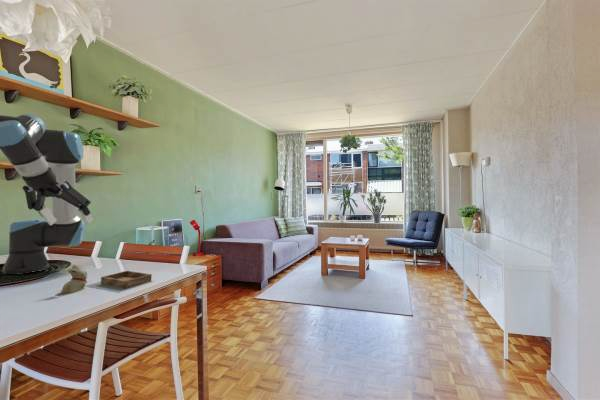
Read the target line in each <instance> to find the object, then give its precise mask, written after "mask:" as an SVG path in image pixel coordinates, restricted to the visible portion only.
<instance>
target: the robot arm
mask: <svg viewBox="0 0 600 400" xmlns="http://www.w3.org/2000/svg"><path fill="white" fill-rule="evenodd" d="M0 151H1V152H2V154H3V155H4V156H5V157H6V158H7V160H8V161H9V163H10V164H11V165H12V166H13V168H14V169H15V170H16V171H17V173H18V174H19V176H21V179H22V180H23V182H24V183H25V185H23V186H22V187H21V188H22V190H23V191H24V193H25V199H26V204H27V205H26V206H27V208H28V209H29V210H34V211H36V212H37V213H38V214H39V215H40V216H41V217H42V218H35V219H24V220H17V221H13V222H12V223H11V224H10V226H9V231H8V234H9V236H8V237H9V239H8V240H9V241H8V244H9V245H8V256H7V258H6V260H5V262H4V265H3V266H2V274H3V275H6V274H17V273H27V272H32V271H37V270H41V269H44V268H47V267H49V265H50V264H49V261H48V259H47V257H46V254H45V248H52V247H57V248H58V247H72V246H73V247H77V246H79V245H81V244H82V242H83V239H84V236H85V231H86V225H90V224H91V222H93V220H94V218H93V216H92V215H91V211H90V209H89V207H88V206H90V204H91V200H90V199H88V198H87V197H86V196H84V195H83V194H82V193H80V192H79V191H78V190H77V184H76V180H77V179H76V166H77V165H78V164H79V163H80V160H83V159H84V147H83V142H82V139H81V137H80V135H79V134H78V133H76V132H73V131H65V130H58V129H46V123H45V122H44V121H43V120H42V119H41V118H40V117H39V116H36V115H34V114H31V113H25V114H21V115H17V116H9V115H2V114H0ZM49 197H50V198H51V200H52V203H51V204H52V212H51V210H50V209H49V208H48V206H46V205H45V201H46V198H49ZM77 213H79V215H80V216H79V215H78V214H77ZM81 217H82V218H81ZM82 219H83V220H82ZM49 268H50V267H49Z"/></svg>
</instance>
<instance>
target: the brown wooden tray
mask: <svg viewBox="0 0 600 400" xmlns="http://www.w3.org/2000/svg"><path fill="white" fill-rule="evenodd" d="M150 281H152V274H151V273H145V272H140V271H139V272H137V271H131V270H124V271H120V272H116V273H113V274H112V273H111V274H108V275H105V276H101V277H100V282H101V284H102V285H108V286H113V287H119V288H125V289H128V288H131V287H134V286H137V285H140V284H143V283H147V282H150ZM150 283H151V282H150ZM147 284H148V283H147Z"/></svg>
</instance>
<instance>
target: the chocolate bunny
mask: <svg viewBox="0 0 600 400" xmlns="http://www.w3.org/2000/svg"><path fill="white" fill-rule="evenodd" d="M67 272H68V273H69V274H70V275H71V279H70V280H69V281H67V282H66V283H64V284H63V286H62V288H61V290H60V293H59V294H60V295H65V294H67V295H69V294H74V293H77V292H80V291H84V290H85V289H86V288H85V287H86V284H87V282H88V281H87V279H88V273H87V271H85V270H82V269H81V268H80V267H79V266H77V265H75V264H74V265H72V267H70V268H69V269H68V271H67Z"/></svg>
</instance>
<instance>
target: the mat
mask: <svg viewBox="0 0 600 400" xmlns="http://www.w3.org/2000/svg"><path fill="white" fill-rule="evenodd" d="M150 283H154V282H153V280H151V281H150V282H147V283H143V284H140V285H137V286H134V287H131V288H128V289H125V288H119V287H113V286H108V285H102V284H101V281H97V282H94V283H91V284H87V285H86V284H85V287H88V288H91V289H92V288H94V289H97V290H103V291H108V292H113V293H118V294H119V293H122V292H124V291H125V292H126V291H128V290H131V289H134V288H138V287H141V286H144V285H147V284H150Z"/></svg>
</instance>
